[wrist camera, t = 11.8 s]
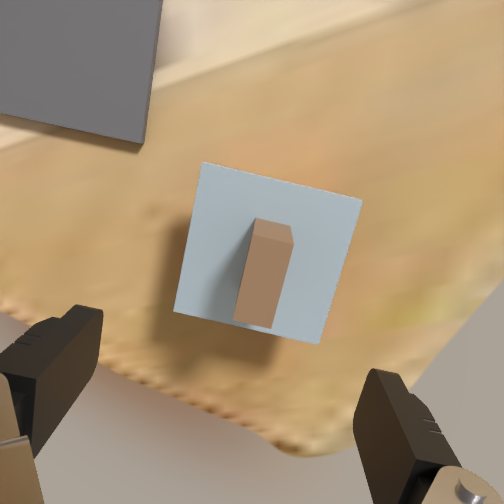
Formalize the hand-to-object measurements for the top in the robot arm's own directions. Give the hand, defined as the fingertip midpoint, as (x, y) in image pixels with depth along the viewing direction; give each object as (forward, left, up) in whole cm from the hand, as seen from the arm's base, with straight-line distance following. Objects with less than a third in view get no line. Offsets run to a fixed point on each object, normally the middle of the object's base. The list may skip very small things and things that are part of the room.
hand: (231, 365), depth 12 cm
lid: (+1, -1, -16) cm, 16 cm away
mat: (-15, +10, -20) cm, 27 cm away
